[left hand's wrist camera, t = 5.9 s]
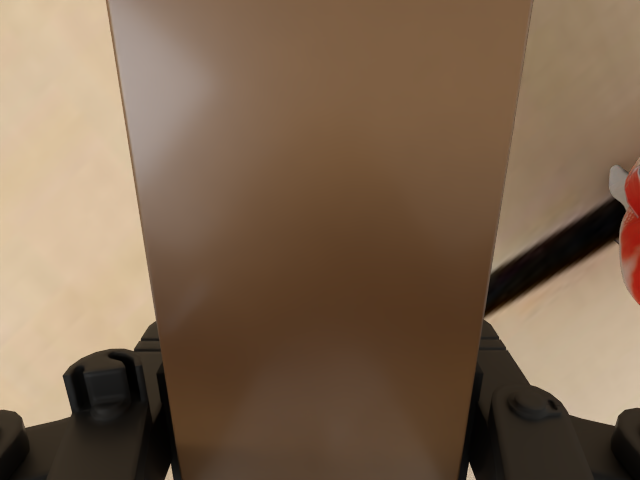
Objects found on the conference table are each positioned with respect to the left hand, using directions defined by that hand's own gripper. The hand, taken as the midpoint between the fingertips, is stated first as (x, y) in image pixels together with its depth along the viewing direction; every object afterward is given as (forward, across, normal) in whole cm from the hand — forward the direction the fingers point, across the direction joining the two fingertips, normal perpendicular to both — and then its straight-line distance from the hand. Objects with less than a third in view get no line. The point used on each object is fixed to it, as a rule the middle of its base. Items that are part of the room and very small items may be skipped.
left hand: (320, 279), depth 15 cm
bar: (+1, 0, -9) cm, 9 cm away
